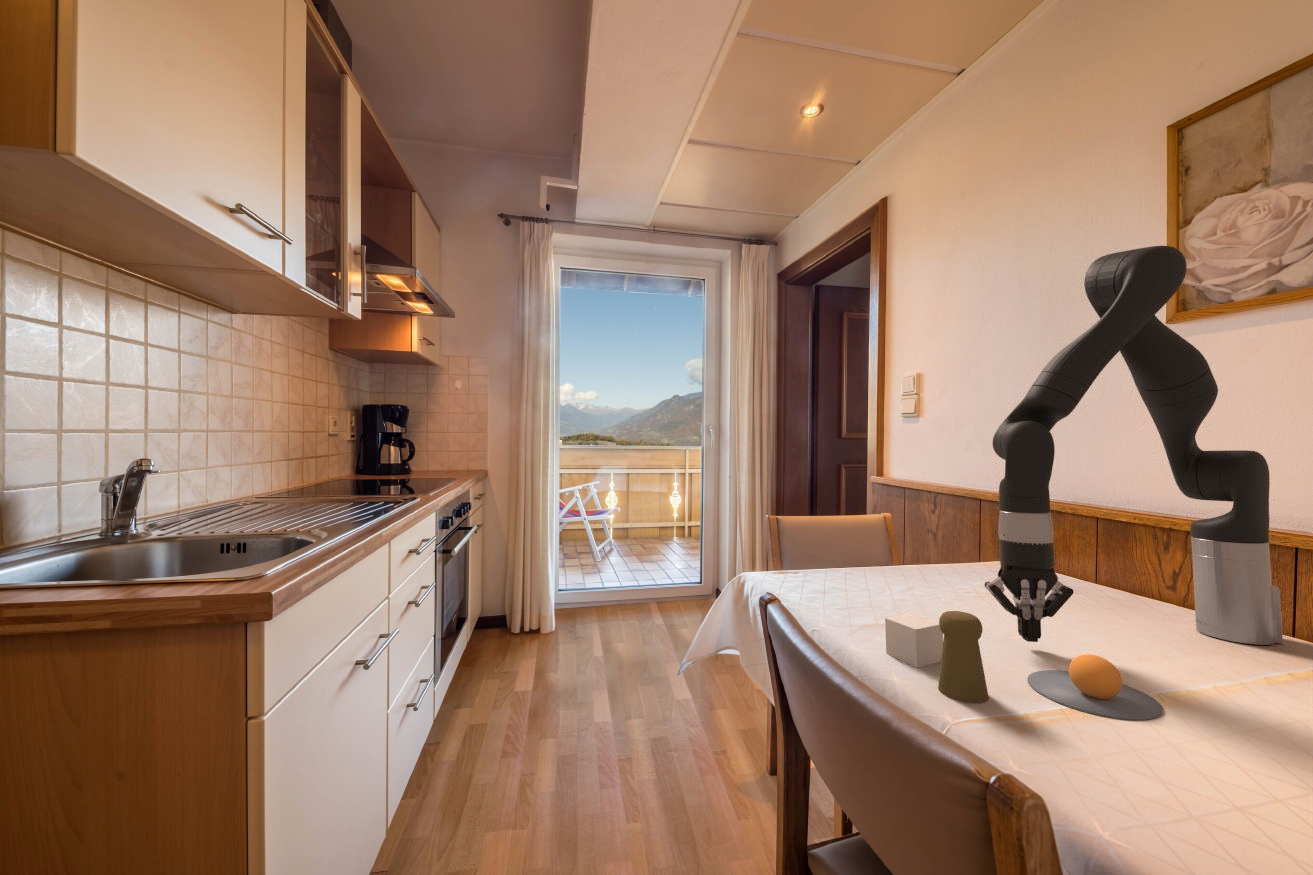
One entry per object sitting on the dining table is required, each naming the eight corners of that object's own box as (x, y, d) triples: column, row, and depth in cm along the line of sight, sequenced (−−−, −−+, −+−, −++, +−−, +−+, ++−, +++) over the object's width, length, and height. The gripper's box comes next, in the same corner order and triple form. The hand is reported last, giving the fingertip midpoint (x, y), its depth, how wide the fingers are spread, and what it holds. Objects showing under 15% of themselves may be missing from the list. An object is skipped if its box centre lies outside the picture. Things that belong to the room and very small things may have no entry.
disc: (1115, 675, 74) (1115, 674, 74) (1194, 725, 60) (1194, 723, 60) (1009, 667, 77) (1009, 666, 77) (1061, 714, 63) (1061, 712, 63)
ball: (1100, 673, 70) (1106, 644, 68) (1129, 707, 65) (1136, 677, 63) (1057, 674, 71) (1061, 646, 69) (1082, 708, 66) (1088, 679, 64)
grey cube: (886, 654, 83) (884, 617, 83) (912, 648, 85) (910, 613, 86) (917, 667, 77) (915, 629, 78) (944, 661, 80) (942, 623, 80)
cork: (997, 705, 65) (993, 621, 66) (947, 701, 67) (944, 619, 67) (977, 684, 71) (974, 607, 72) (931, 681, 73) (929, 605, 73)
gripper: (992, 540, 82) (996, 645, 82) (1084, 542, 80) (1089, 651, 79) (973, 533, 90) (977, 630, 89) (1057, 535, 87) (1061, 634, 86)
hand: (1030, 639), depth 84 cm, fingers closed
